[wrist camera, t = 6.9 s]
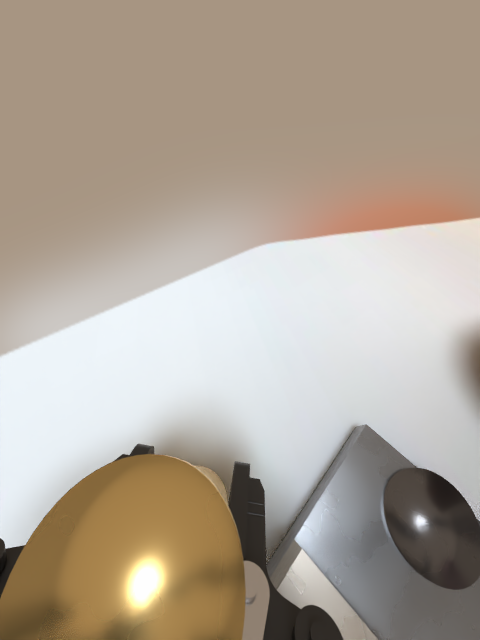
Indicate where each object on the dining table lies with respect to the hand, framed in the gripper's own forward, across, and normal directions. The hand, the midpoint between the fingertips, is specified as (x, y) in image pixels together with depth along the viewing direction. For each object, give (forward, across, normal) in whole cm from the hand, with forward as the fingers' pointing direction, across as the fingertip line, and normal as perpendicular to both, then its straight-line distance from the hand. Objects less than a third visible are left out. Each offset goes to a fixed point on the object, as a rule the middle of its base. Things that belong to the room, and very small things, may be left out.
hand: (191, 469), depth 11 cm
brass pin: (+2, 0, +4) cm, 5 cm away
